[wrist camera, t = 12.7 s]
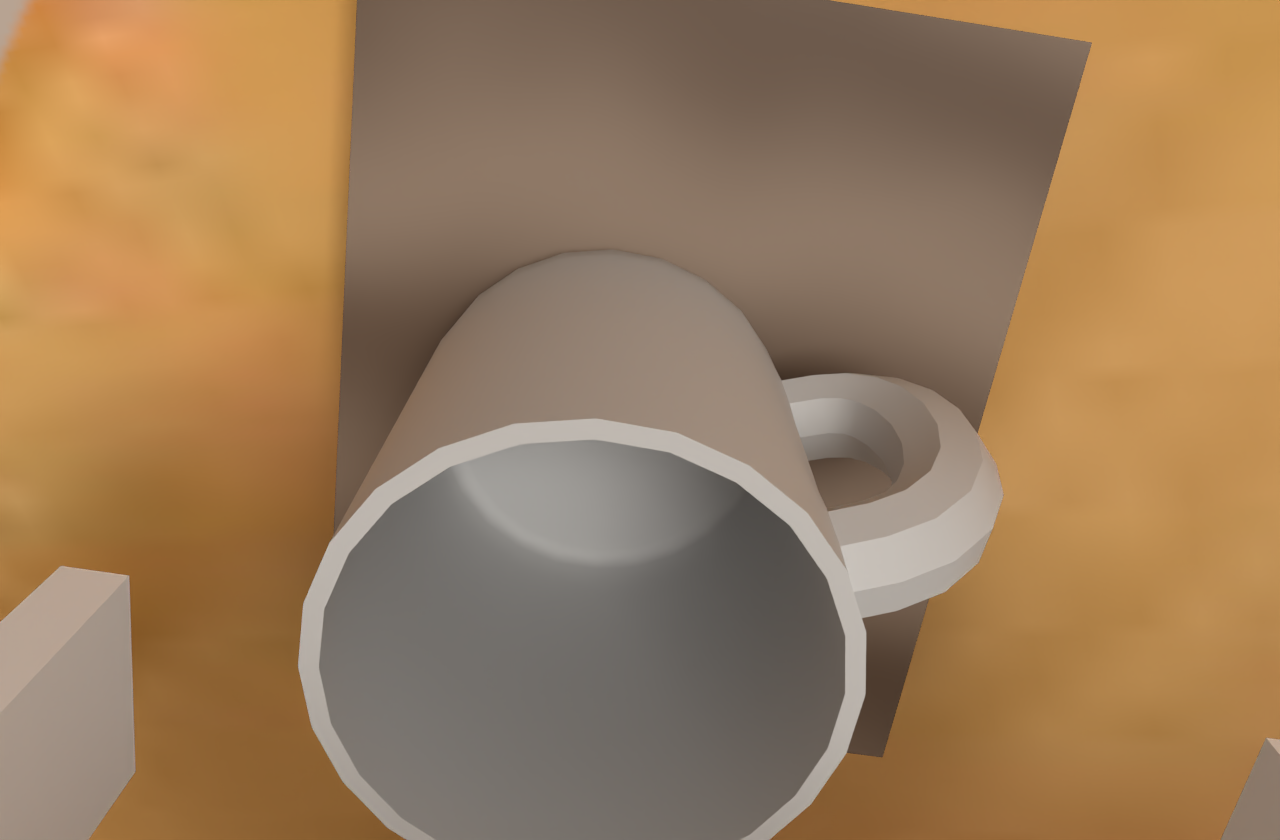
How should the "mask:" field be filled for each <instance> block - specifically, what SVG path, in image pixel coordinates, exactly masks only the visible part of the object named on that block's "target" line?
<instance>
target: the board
mask: <svg viewBox="0 0 1280 840" xmlns="http://www.w3.org/2000/svg"><path fill="white" fill-rule="evenodd" d="M1091 44H1092V43H1091V42H1085V41H1079V40H1072V39H1066V38H1060V37H1054V36H1048V35H1041V34H1035V33H1029V32H1023V31H1016V30H1010V29H1004V28H998V27H992V26H985V25H979V24H973V23H967V22H961V21H954V20H948V19H942V18H936V17H929V16H923V15H917V14H911V13H905V12H898V11H892V10H886V9H880V8H874V7H867V6H861V5H855V4H849V3H842V2H836V1H830V0H357V16H356V38H355V61H354V84H353V106H352V129H351V152H350V175H349V197H348V220H347V243H346V265H345V288H344V311H343V334H342V356H341V379H340V402H339V424H338V447H337V470H336V493H335V515H334V534H335V532H336V530H337V528H338V526H339V524H340V523H341V521H342V519H343V517H344V515H345V514H346V512H347V510H348V508H349V506H350V504H351V503H352V501H353V499H354V497H355V495H356V494H357V492H358V490H359V488H360V486H361V485H362V483H363V481H364V479H365V477H366V475H367V474H368V472H369V470H370V468H371V466H372V465H373V463H374V461H375V459H376V457H377V456H378V454H379V452H380V450H381V448H382V446H383V445H384V443H385V441H386V439H387V437H388V436H389V434H390V432H391V430H392V428H393V426H394V425H395V423H396V421H397V419H398V417H399V416H400V414H401V412H402V410H403V408H404V407H405V405H406V403H407V401H408V399H409V397H410V396H411V394H412V392H413V390H414V388H415V387H416V385H417V383H418V381H419V379H420V378H421V376H422V374H423V372H424V370H425V368H426V367H427V365H428V363H429V361H430V359H431V358H432V356H433V354H434V352H435V350H436V348H437V347H438V345H439V343H440V341H441V340H442V339H443V337H444V336H445V335H446V334H447V333H448V331H449V330H450V329H451V328H452V327H453V325H454V324H455V323H456V322H457V321H458V319H459V318H460V317H461V316H462V315H463V313H464V312H465V311H466V310H467V309H468V307H469V306H470V305H471V304H472V303H473V301H474V300H475V299H476V298H477V297H478V295H480V294H481V293H483V292H484V291H486V290H487V289H489V288H490V287H492V286H493V285H495V284H496V283H497V282H499V281H500V280H502V279H503V278H505V277H506V276H508V275H509V274H511V273H512V272H514V271H515V270H517V269H518V268H521V267H524V266H527V265H530V264H533V263H536V262H539V261H542V260H544V259H547V258H550V257H553V256H556V255H559V254H562V253H569V252H583V251H598V250H618V251H624V252H629V253H634V254H640V255H645V256H650V257H655V258H661V259H663V260H665V261H667V262H670V263H672V264H674V265H676V266H678V267H680V268H682V269H684V270H686V271H688V272H690V273H692V274H694V275H696V276H698V277H701V278H703V279H705V280H706V281H707V282H708V283H710V284H711V285H712V286H713V287H714V288H715V289H717V290H718V291H719V292H720V293H721V294H722V295H724V296H725V297H726V298H727V299H728V300H729V301H731V302H732V303H733V304H734V305H735V306H736V307H737V308H739V309H740V310H741V311H742V313H743V314H744V316H745V317H746V319H747V320H748V322H749V323H750V325H751V326H752V328H753V329H754V331H755V332H756V334H757V335H758V337H759V338H760V340H761V342H762V343H763V345H764V346H765V348H766V349H767V351H768V354H769V356H770V358H771V360H772V362H773V364H774V367H775V369H776V371H777V373H778V375H779V376H780V378H781V380H787V379H793V378H799V377H805V376H811V375H822V374H839V373H856V374H866V375H875V376H884V377H893V378H900V379H902V380H905V381H908V382H911V383H914V384H916V385H919V386H922V387H925V388H928V389H931V390H933V391H934V392H936V393H937V394H939V395H940V396H942V397H943V398H944V399H946V400H947V401H949V402H950V403H952V404H953V405H954V406H956V407H957V408H959V409H960V411H961V412H962V413H963V415H964V416H965V417H966V419H967V420H968V421H969V423H970V424H971V425H972V427H973V428H974V429H975V431H976V432H977V433H978V430H979V426H980V423H981V419H982V416H983V412H984V409H985V406H986V402H987V399H988V395H989V392H990V389H991V385H992V382H993V378H994V375H995V372H996V368H997V365H998V361H999V358H1000V354H1001V351H1002V348H1003V344H1004V341H1005V337H1006V334H1007V331H1008V327H1009V324H1010V320H1011V317H1012V314H1013V310H1014V307H1015V303H1016V300H1017V296H1018V293H1019V290H1020V286H1021V283H1022V279H1023V276H1024V273H1025V269H1026V266H1027V262H1028V259H1029V255H1030V252H1031V249H1032V245H1033V242H1034V238H1035V235H1036V232H1037V228H1038V225H1039V221H1040V218H1041V215H1042V211H1043V208H1044V204H1045V201H1046V197H1047V194H1048V191H1049V187H1050V184H1051V180H1052V177H1053V174H1054V170H1055V167H1056V163H1057V160H1058V157H1059V153H1060V150H1061V146H1062V143H1063V139H1064V136H1065V133H1066V129H1067V126H1068V122H1069V119H1070V116H1071V112H1072V109H1073V105H1074V102H1075V98H1076V95H1077V92H1078V88H1079V85H1080V81H1081V78H1082V75H1083V71H1084V68H1085V64H1086V61H1087V58H1088V54H1089V51H1090V47H1091ZM808 462H809V464H810V467H811V470H812V473H813V476H814V479H815V482H816V485H817V488H818V491H819V493H820V495H821V497H822V499H823V502H824V504H825V506H826V508H832V507H836V506H841V505H846V504H851V503H856V502H860V501H864V500H867V499H869V498H872V497H874V496H877V495H879V494H882V493H884V492H886V491H887V490H888V489H889V488H890V487H891V486H892V480H891V479H890V478H889V477H888V476H887V475H886V474H885V473H884V472H883V471H881V470H879V469H878V468H876V467H874V466H872V465H870V464H868V463H867V462H864V461H861V460H857V459H853V458H849V457H848V458H823V459H817V460H810V461H808ZM928 600H929V599H926V600H923V601H921V602H918V603H916V604H913V605H911V606H908V607H906V608H903V609H901V610H898V611H894V612H889V613H884V614H880V615H875V616H870V617H865V618H862V620H863V623H864V627H865V630H866V694H865V698H864V701H863V704H862V707H861V710H860V713H859V716H858V719H857V722H856V725H855V728H854V732H853V735H852V738H851V741H850V744H849V747H848V750H847V753H853V754H861V755H868V756H876V757H883V754H884V750H885V747H886V744H887V740H888V737H889V733H890V730H891V726H892V723H893V720H894V716H895V713H896V709H897V706H898V703H899V699H900V696H901V692H902V689H903V686H904V682H905V679H906V675H907V672H908V668H909V665H910V662H911V658H912V655H913V651H914V648H915V645H916V641H917V638H918V634H919V631H920V628H921V624H922V621H923V617H924V614H925V610H926V607H927V604H928Z"/></svg>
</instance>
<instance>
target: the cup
mask: <svg viewBox="0 0 1280 840" xmlns="http://www.w3.org/2000/svg"><path fill="white" fill-rule="evenodd" d="M848 457H849V458H853V459H857V460H861V461H864V462H867V463H868V464H870V465H872V466H874V467H876V468H878V469H879V470H881V471H883V472H884V473H885V474H886V475H887V476H888V477H889V478H890V479H891V480H892V486H891V487H890V488H889V489H888V490H887V491H886V492H884V493H882V494H879V495H877V496H874V497H872V498H869V499H867V500H864V501H860V502H856V503H851V504H846V505H841V506H836V507H832V508H826V506H825V504H824V502H823V499H822V497H821V495H820V493H819V491H818V488H817V485H816V482H815V479H814V476H813V473H812V470H811V467H810V464H809V462H808V461H810V460H817V459H823V458H848ZM1003 496H1004V494H1003V490H1002V486H1001V482H1000V477H999V473H998V469H997V465H996V463H995V461H994V460H993V458H992V456H991V455H990V453H989V451H988V450H987V448H986V447H985V445H984V443H983V442H982V440H981V438H980V437H979V435H978V434H977V432H976V431H975V429H974V428H973V427H972V425H971V424H970V423H969V421H968V420H967V419H966V417H965V416H964V415H963V413H962V412H961V411H960V409H959V408H957V407H956V406H954V405H953V404H952V403H950V402H949V401H947V400H946V399H944V398H943V397H942V396H940V395H939V394H937V393H936V392H934V391H933V390H931V389H928V388H925V387H922V386H919V385H916V384H914V383H911V382H908V381H905V380H902V379H900V378H893V377H884V376H875V375H866V374H856V373H839V374H822V375H811V376H805V377H799V378H793V379H787V380H781V378H780V376H779V375H778V373H777V371H776V369H775V367H774V364H773V362H772V360H771V358H770V356H769V354H768V351H767V349H766V348H765V346H764V345H763V343H762V342H761V340H760V338H759V337H758V335H757V334H756V332H755V331H754V329H753V328H752V326H751V325H750V323H749V322H748V320H747V319H746V317H745V316H744V314H743V313H742V311H741V310H740V309H739V308H737V307H736V306H735V305H734V304H733V303H732V302H731V301H729V300H728V299H727V298H726V297H725V296H724V295H722V294H721V293H720V292H719V291H718V290H717V289H715V288H714V287H713V286H712V285H711V284H710V283H708V282H707V281H706V280H705V279H703V278H701V277H698V276H696V275H694V274H692V273H690V272H688V271H686V270H684V269H682V268H680V267H678V266H676V265H674V264H672V263H670V262H667V261H665V260H663V259H661V258H655V257H650V256H645V255H640V254H634V253H629V252H624V251H618V250H598V251H583V252H569V253H562V254H559V255H556V256H553V257H550V258H547V259H544V260H542V261H539V262H536V263H533V264H530V265H527V266H524V267H521V268H518V269H517V270H515V271H514V272H512V273H511V274H509V275H508V276H506V277H505V278H503V279H502V280H500V281H499V282H497V283H496V284H495V285H493V286H492V287H490V288H489V289H487V290H486V291H484V292H483V293H481V294H480V295H478V297H477V298H476V299H475V300H474V301H473V303H472V304H471V305H470V306H469V307H468V309H467V310H466V311H465V312H464V313H463V315H462V316H461V317H460V318H459V319H458V321H457V322H456V323H455V324H454V325H453V327H452V328H451V329H450V330H449V331H448V333H447V334H446V335H445V336H444V337H443V339H442V340H441V341H440V343H439V345H438V347H437V348H436V350H435V352H434V354H433V356H432V358H431V359H430V361H429V363H428V365H427V367H426V368H425V370H424V372H423V374H422V376H421V378H420V379H419V381H418V383H417V385H416V387H415V388H414V390H413V392H412V394H411V396H410V397H409V399H408V401H407V403H406V405H405V407H404V408H403V410H402V412H401V414H400V416H399V417H398V419H397V421H396V423H395V425H394V426H393V428H392V430H391V432H390V434H389V436H388V437H387V439H386V441H385V443H384V445H383V446H382V448H381V450H380V452H379V454H378V456H377V457H376V459H375V461H374V463H373V465H372V466H371V468H370V470H369V472H368V474H367V475H366V477H365V479H364V481H363V483H362V485H361V486H360V488H359V490H358V492H357V494H356V495H355V497H354V499H353V501H352V503H351V504H350V506H349V508H348V510H347V512H346V514H345V515H344V517H343V519H342V521H341V523H340V524H339V526H338V528H337V530H336V532H335V534H334V535H333V537H332V539H331V541H330V543H329V545H328V547H327V550H326V552H325V554H324V556H323V559H322V561H321V563H320V566H319V568H318V570H317V573H316V575H315V577H314V580H313V582H312V584H311V587H310V589H309V591H308V594H307V596H306V598H305V601H304V603H303V612H302V624H301V636H300V648H299V660H298V669H299V673H300V678H301V682H302V687H303V691H304V696H305V700H306V704H307V709H308V713H309V718H310V722H311V727H312V729H313V730H314V732H315V734H316V736H317V738H318V739H319V741H320V743H321V745H322V746H323V748H324V750H325V752H326V753H327V755H328V757H329V759H330V760H331V762H332V764H333V766H334V768H335V769H336V771H337V773H338V775H339V776H340V778H341V780H342V782H343V783H344V784H345V785H346V786H347V787H348V788H349V789H350V790H351V791H352V792H353V793H354V794H355V795H356V796H357V797H358V798H359V799H360V800H361V801H362V802H363V803H364V804H365V805H366V806H367V807H368V808H369V809H370V810H371V812H372V813H373V814H374V815H375V816H376V817H377V818H378V819H379V820H380V821H381V822H382V823H383V824H384V825H385V826H386V827H387V828H388V829H390V830H392V831H393V832H395V833H396V834H398V835H400V836H401V837H403V838H404V839H406V840H770V839H771V838H772V837H773V836H774V835H776V834H777V833H778V832H779V831H780V830H781V829H783V828H784V827H785V826H786V825H787V824H788V823H790V822H791V821H792V820H793V819H794V818H795V817H797V816H798V815H799V814H800V813H801V812H802V811H804V810H805V809H806V808H807V807H808V806H809V805H811V803H812V802H813V801H814V799H815V798H816V796H817V795H818V793H819V792H820V790H821V789H822V788H823V786H824V785H825V783H826V782H827V780H828V779H829V778H830V776H831V775H832V773H833V772H834V770H835V769H836V768H837V766H838V765H839V763H840V762H841V760H842V759H843V757H844V756H845V755H846V753H847V750H848V747H849V744H850V741H851V738H852V735H853V732H854V728H855V725H856V722H857V719H858V716H859V713H860V710H861V707H862V704H863V701H864V698H865V694H866V630H865V627H864V623H863V620H862V618H865V617H870V616H875V615H880V614H884V613H889V612H894V611H898V610H901V609H903V608H906V607H908V606H911V605H913V604H916V603H918V602H921V601H923V600H926V599H929V598H931V597H934V596H936V595H939V594H941V593H944V592H946V591H947V590H948V589H949V588H950V587H951V586H952V585H954V584H955V583H956V582H957V581H958V580H959V579H960V578H962V577H963V576H964V575H965V574H966V573H967V572H968V571H970V570H971V569H972V568H973V567H974V566H975V565H977V564H978V563H979V560H980V558H981V556H982V553H983V551H984V548H985V546H986V543H987V541H988V539H989V536H990V534H991V531H992V529H993V526H994V523H995V520H996V517H997V514H998V511H999V508H1000V505H1001V502H1002V499H1003Z"/></svg>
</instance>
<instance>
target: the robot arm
mask: <svg viewBox="0 0 1280 840" xmlns="http://www.w3.org/2000/svg"><path fill="white" fill-rule="evenodd" d="M135 772H136V770H135V738H134V707H133V676H132V644H131V613H130V581H129V575H122V574H115V573H108V572H101V571H94V570H87V569H80V568H73V567H66V566H60V567H59V568H58V569H57V570H56V571H55V572H54V573H53V574H51V575H50V576H49V577H48V578H47V579H46V580H45V581H44V582H43V583H42V584H41V585H40V586H39V587H37V588H36V589H35V590H34V591H33V592H32V593H31V594H30V595H29V596H28V597H27V598H26V599H25V600H23V601H22V602H21V603H20V604H19V605H18V606H17V607H16V608H15V609H14V610H13V611H12V612H11V613H9V614H8V615H7V616H6V617H5V618H4V619H3V620H2V621H1V622H0V840H89V838H90V837H91V835H92V834H93V832H94V831H95V829H96V828H97V827H98V825H99V824H100V822H101V821H102V819H103V818H104V816H105V815H106V814H107V812H108V811H109V809H110V808H111V806H112V805H113V803H114V802H115V801H116V799H117V798H118V796H119V795H120V793H121V792H122V790H123V789H124V788H125V786H126V785H127V783H128V782H129V780H130V779H131V777H132V776H133V775H134V773H135ZM1221 840H1280V740H1278V739H1271V738H1266V739H1265V742H1264V744H1263V746H1262V748H1261V750H1260V753H1259V755H1258V757H1257V759H1256V762H1255V764H1254V766H1253V768H1252V771H1251V773H1250V775H1249V777H1248V780H1247V782H1246V784H1245V786H1244V789H1243V791H1242V793H1241V795H1240V798H1239V800H1238V802H1237V804H1236V807H1235V809H1234V811H1233V813H1232V816H1231V818H1230V820H1229V822H1228V824H1227V827H1226V829H1225V831H1224V833H1223V836H1222V838H1221Z"/></svg>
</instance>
